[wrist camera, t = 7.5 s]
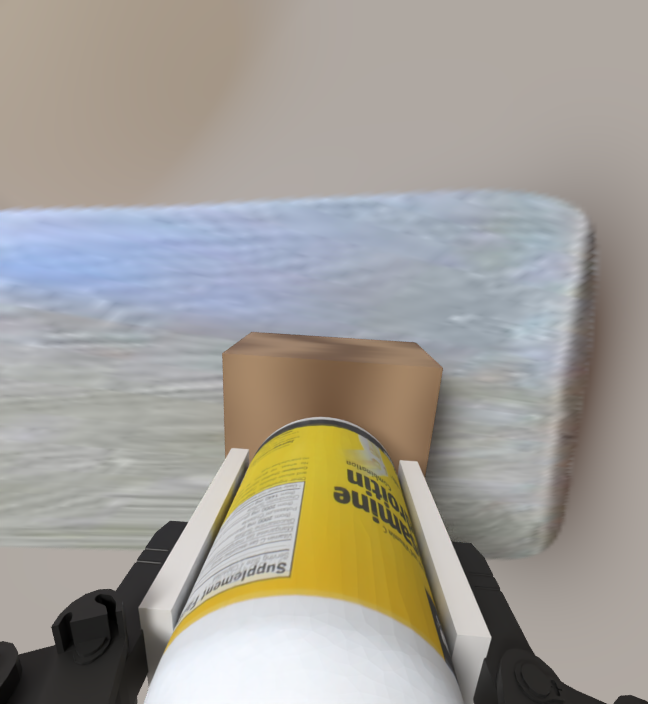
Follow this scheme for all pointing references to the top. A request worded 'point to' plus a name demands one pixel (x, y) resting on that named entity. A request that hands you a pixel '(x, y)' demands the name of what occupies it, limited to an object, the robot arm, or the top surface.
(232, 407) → the walnut block
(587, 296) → the top surface
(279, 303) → the top surface
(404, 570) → the pill bottle
